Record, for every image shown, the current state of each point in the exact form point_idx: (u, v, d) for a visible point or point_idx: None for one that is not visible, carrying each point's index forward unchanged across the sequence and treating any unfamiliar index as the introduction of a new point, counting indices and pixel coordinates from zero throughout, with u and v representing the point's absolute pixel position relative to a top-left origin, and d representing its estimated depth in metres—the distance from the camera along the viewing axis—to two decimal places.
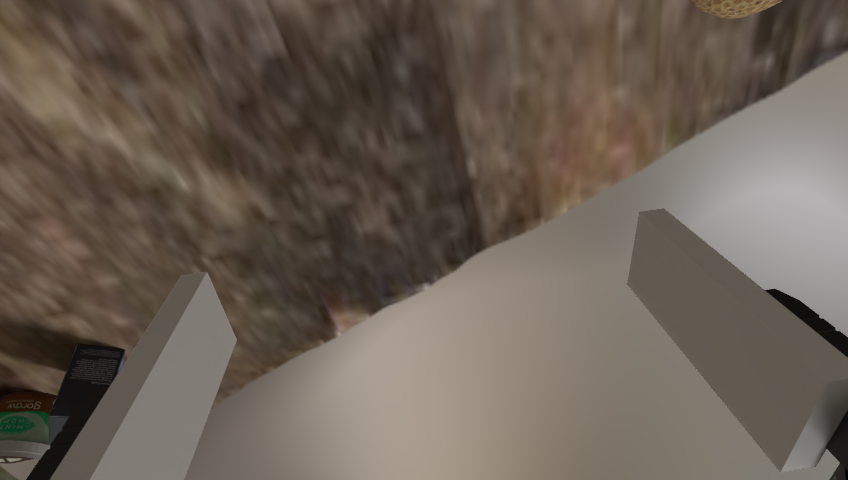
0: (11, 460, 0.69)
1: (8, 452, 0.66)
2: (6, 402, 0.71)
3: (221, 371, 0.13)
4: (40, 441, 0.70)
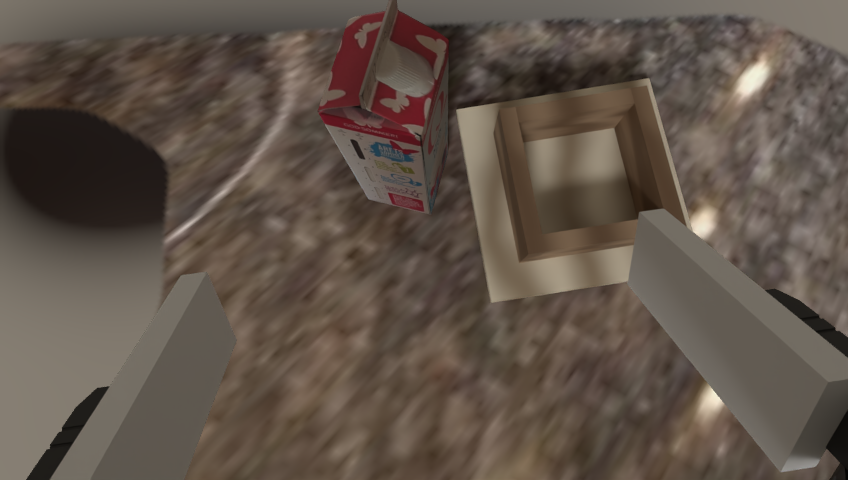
0: None
1: None
2: None
3: (221, 371, 0.13)
4: None
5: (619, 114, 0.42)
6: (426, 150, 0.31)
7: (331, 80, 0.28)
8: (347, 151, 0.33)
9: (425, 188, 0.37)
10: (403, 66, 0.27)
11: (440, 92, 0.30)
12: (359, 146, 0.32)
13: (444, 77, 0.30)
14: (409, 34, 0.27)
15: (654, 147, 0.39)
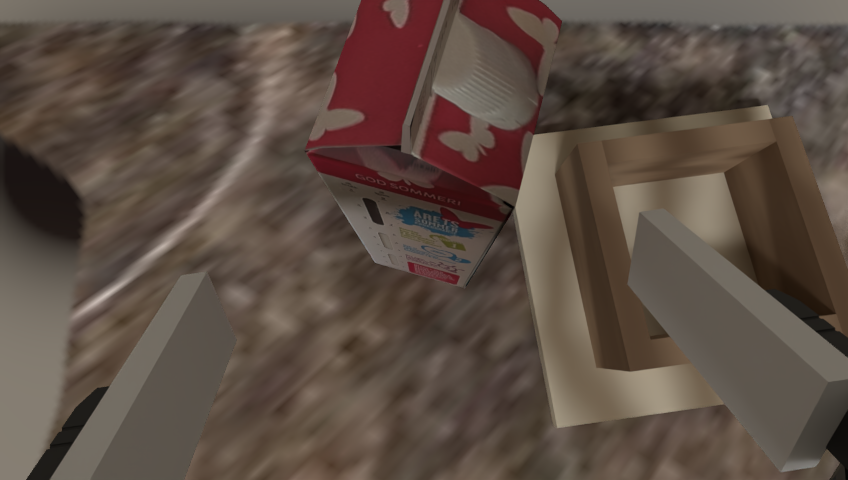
0: None
1: None
2: None
3: (221, 371, 0.13)
4: None
5: (744, 155, 0.29)
6: None
7: (334, 90, 0.14)
8: (354, 212, 0.19)
9: (473, 266, 0.23)
10: (484, 66, 0.13)
11: None
12: (377, 208, 0.18)
13: None
14: (495, 4, 0.13)
15: (811, 209, 0.26)
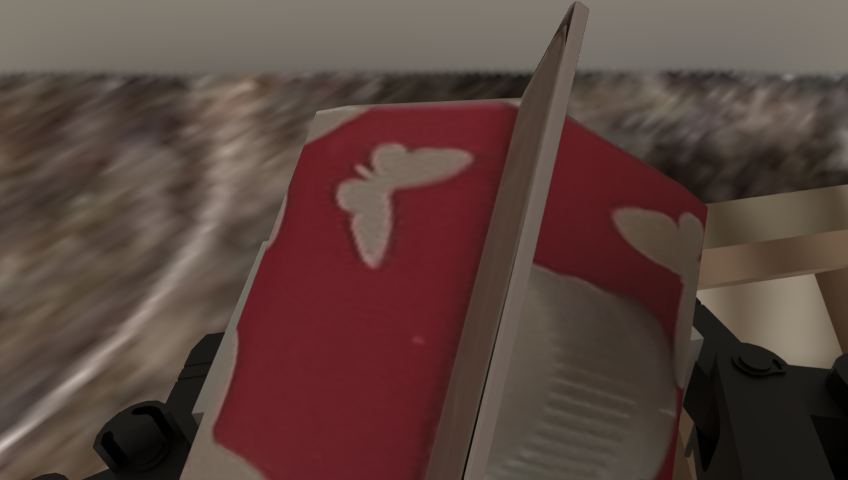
0: None
1: None
2: None
3: None
4: None
5: None
6: None
7: (230, 384, 0.06)
8: None
9: None
10: (571, 375, 0.05)
11: None
12: None
13: None
14: (590, 211, 0.06)
15: None
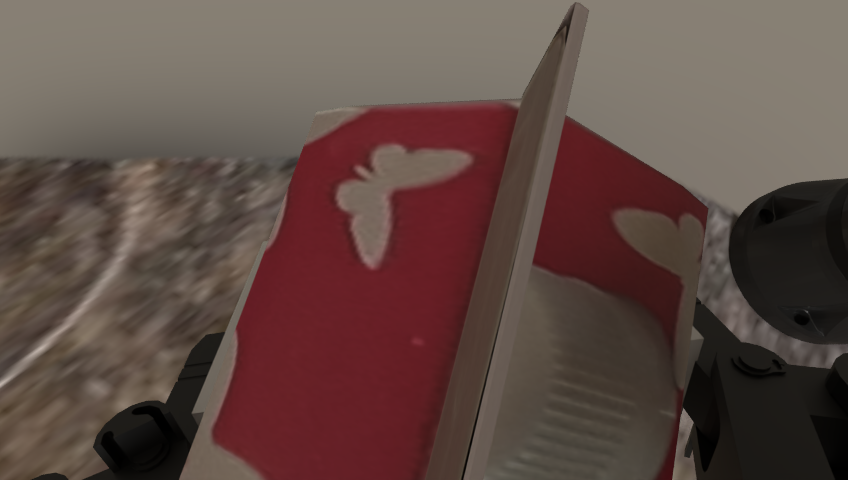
0: None
1: None
2: None
3: None
4: None
5: None
6: None
7: (229, 385, 0.06)
8: None
9: None
10: (571, 376, 0.05)
11: None
12: None
13: None
14: (590, 212, 0.06)
15: None
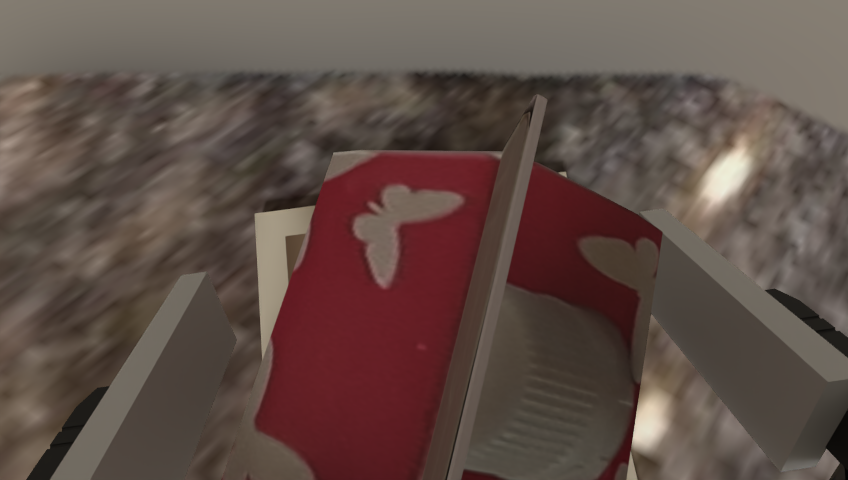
0: None
1: None
2: None
3: (221, 371, 0.13)
4: None
5: None
6: None
7: (267, 383, 0.08)
8: None
9: None
10: (543, 372, 0.07)
11: None
12: None
13: None
14: (559, 241, 0.07)
15: None
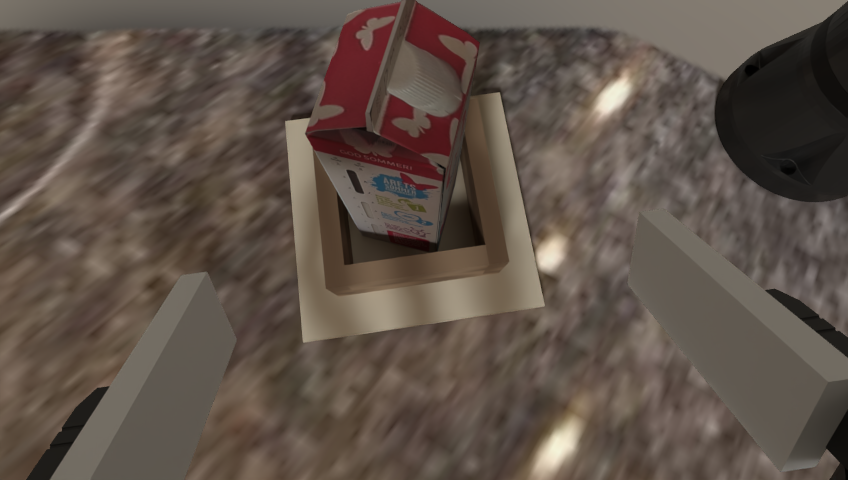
0: None
1: None
2: None
3: (221, 371, 0.13)
4: None
5: None
6: (445, 185, 0.24)
7: (324, 92, 0.21)
8: (341, 183, 0.26)
9: (436, 228, 0.30)
10: (422, 75, 0.20)
11: (464, 111, 0.24)
12: (357, 178, 0.24)
13: (469, 92, 0.24)
14: (430, 33, 0.20)
15: (480, 168, 0.34)
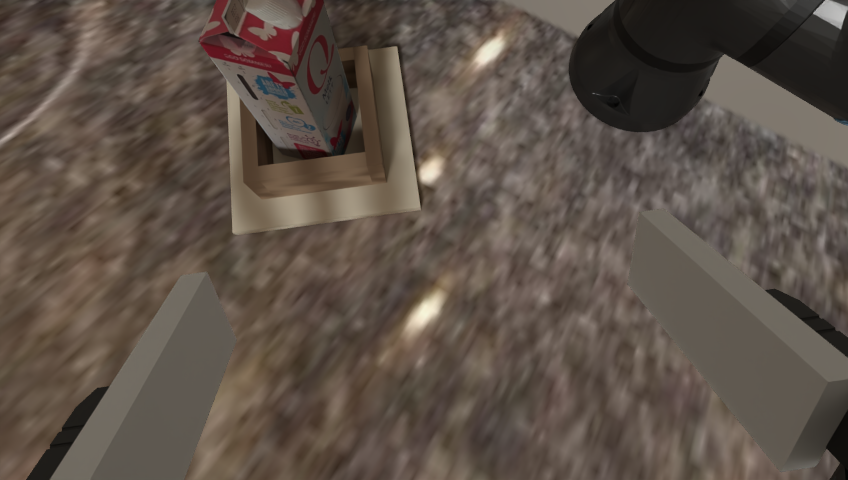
0: None
1: None
2: None
3: (221, 371, 0.13)
4: None
5: (351, 71, 0.48)
6: (305, 85, 0.35)
7: (211, 15, 0.31)
8: (240, 90, 0.37)
9: (320, 132, 0.41)
10: (272, 1, 0.31)
11: (317, 34, 0.34)
12: (247, 83, 0.35)
13: (321, 22, 0.35)
14: None
15: (365, 96, 0.45)
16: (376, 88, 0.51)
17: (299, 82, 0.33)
